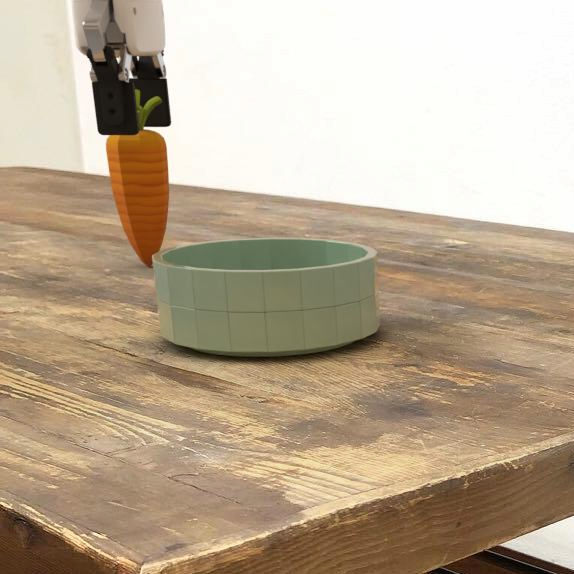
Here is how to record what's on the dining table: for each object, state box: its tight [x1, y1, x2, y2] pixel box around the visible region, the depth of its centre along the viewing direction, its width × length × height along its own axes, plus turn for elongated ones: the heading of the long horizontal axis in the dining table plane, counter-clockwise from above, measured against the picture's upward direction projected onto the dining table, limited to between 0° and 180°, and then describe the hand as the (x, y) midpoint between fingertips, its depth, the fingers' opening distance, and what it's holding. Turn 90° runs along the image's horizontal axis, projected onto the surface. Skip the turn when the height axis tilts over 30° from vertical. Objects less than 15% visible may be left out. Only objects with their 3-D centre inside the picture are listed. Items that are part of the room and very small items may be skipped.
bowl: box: [152, 237, 381, 358], centre depth 81 cm, size 14×14×6 cm
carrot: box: [105, 89, 170, 268], centre depth 105 cm, size 5×5×15 cm
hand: (136, 130), depth 104 cm, fingers open, 9 cm apart
